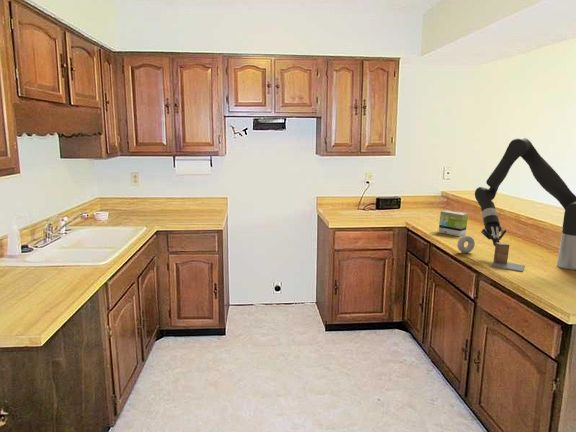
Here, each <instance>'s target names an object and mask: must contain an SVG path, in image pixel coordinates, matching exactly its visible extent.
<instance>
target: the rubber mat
mask: <svg viewBox="0 0 576 432" xmlns="http://www.w3.org/2000/svg"><path fill="white" fill-rule="evenodd" d="M490 267H491V268H497V269H503V270H509V271H512V272H513V271H514V272H519V273H523V272H524V269H525V267H526V265H525V264H519V263H513V262H508V261H507V264H497V263H495V262H494V261H493V262H492V263H491V264H490Z"/></svg>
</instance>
